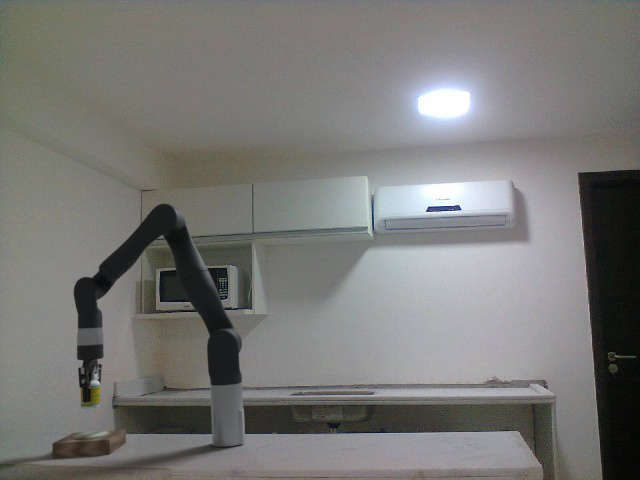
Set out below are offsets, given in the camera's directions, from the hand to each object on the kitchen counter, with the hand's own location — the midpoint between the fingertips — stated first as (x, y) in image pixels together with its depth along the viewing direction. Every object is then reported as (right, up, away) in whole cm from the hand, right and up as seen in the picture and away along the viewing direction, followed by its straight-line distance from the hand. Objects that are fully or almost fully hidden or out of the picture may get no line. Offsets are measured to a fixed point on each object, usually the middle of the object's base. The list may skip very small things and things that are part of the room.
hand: (90, 400), depth 182 cm
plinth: (+1, -14, -2) cm, 14 cm away
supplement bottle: (0, -2, 0) cm, 2 cm away
